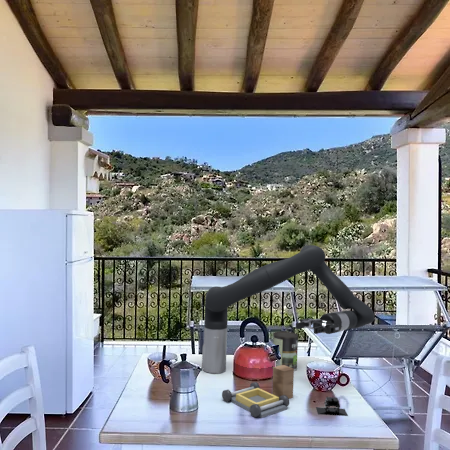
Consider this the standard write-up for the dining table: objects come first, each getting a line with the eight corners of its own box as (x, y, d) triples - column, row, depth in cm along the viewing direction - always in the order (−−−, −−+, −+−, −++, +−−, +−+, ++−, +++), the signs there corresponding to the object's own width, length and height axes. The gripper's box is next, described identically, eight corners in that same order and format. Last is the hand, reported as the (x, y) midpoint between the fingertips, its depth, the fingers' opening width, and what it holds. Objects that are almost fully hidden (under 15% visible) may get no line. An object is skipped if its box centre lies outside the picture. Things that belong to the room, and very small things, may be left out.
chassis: (221, 399, 147) (221, 388, 147) (252, 390, 155) (252, 380, 155) (257, 419, 132) (258, 407, 132) (289, 408, 141) (290, 397, 141)
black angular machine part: (313, 416, 137) (314, 402, 137) (310, 407, 144) (311, 393, 144) (353, 419, 136) (354, 404, 136) (348, 409, 143) (349, 395, 143)
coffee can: (300, 366, 184) (301, 333, 184) (293, 373, 174) (294, 338, 174) (276, 362, 188) (277, 329, 188) (268, 369, 179) (269, 335, 179)
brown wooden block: (272, 396, 151) (273, 367, 151) (282, 393, 154) (283, 364, 154) (282, 401, 147) (283, 371, 147) (292, 397, 150) (293, 368, 150)
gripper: (320, 309, 172) (291, 314, 162) (350, 315, 161) (320, 321, 151) (320, 328, 172) (290, 334, 162) (349, 336, 161) (320, 343, 151)
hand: (305, 328), depth 157 cm, fingers open, 8 cm apart
